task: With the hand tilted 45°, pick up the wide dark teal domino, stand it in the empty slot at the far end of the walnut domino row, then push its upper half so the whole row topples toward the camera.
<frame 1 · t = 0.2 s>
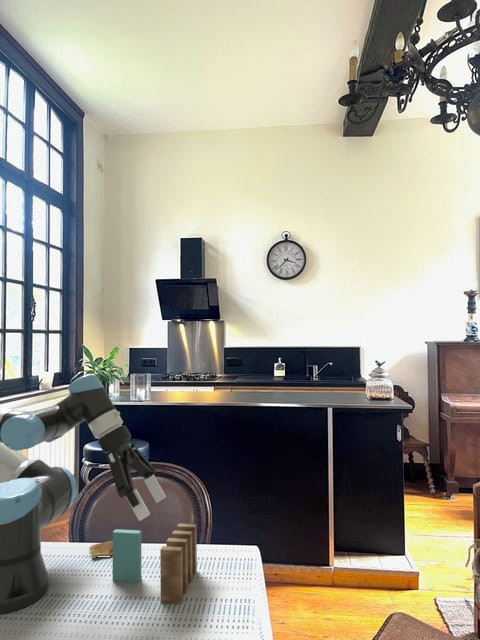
hand: (153, 508, 107), 15 cm above the table, tool tilted 30°, fingers open, 13 cm apart
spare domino: (127, 579, 103), on the table
domino 5: (171, 601, 94), on the table
domino 4: (177, 590, 98), on the table
shard: (105, 551, 119), on the table
domino 2: (187, 572, 106), on the table
domino 3: (182, 581, 102), on the table
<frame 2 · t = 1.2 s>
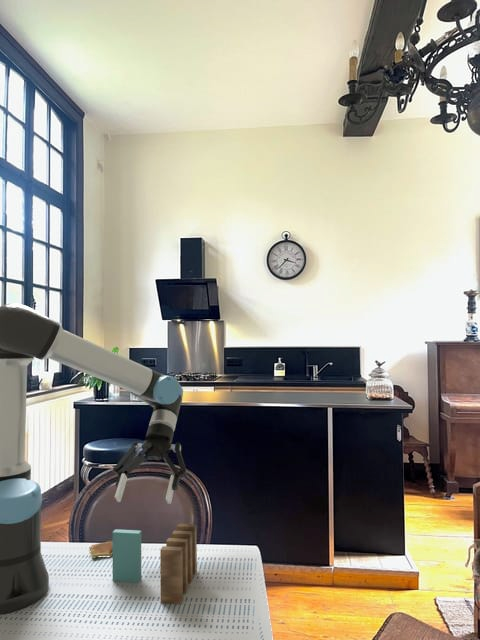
hand: (142, 500, 113), 15 cm above the table, tool tilted 45°, fingers open, 13 cm apart
nothing on the table moved.
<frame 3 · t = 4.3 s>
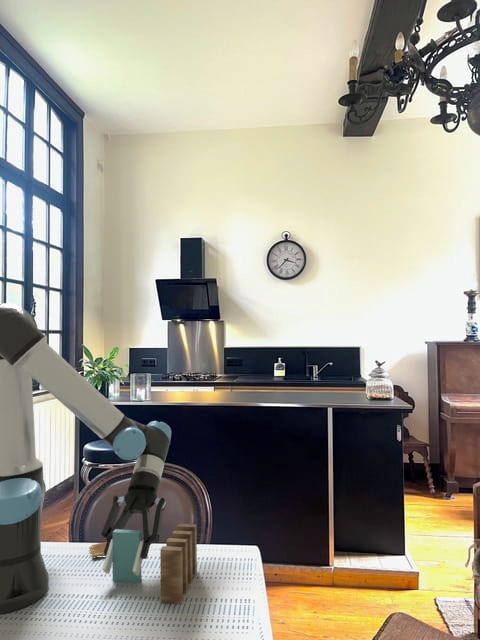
hand: (120, 572, 100), 3 cm above the table, tool tilted 45°, fingers closed on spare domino, 6 cm apart
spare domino: (127, 579, 103), on the table, touching gripper
everything else where it was.
when the fingers open (4 cm above the table, at t = 11.3 s): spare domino drops 1 cm, on the table.
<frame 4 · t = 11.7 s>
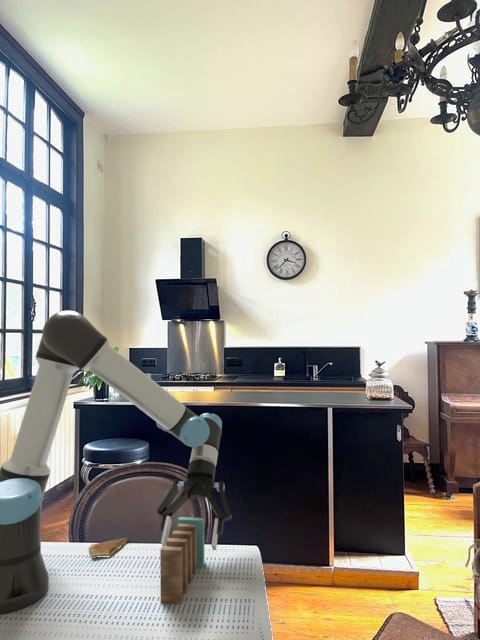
hand: (188, 546, 108), 5 cm above the table, tool tilted 45°, fingers open, 12 cm apart
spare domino: (191, 563, 110), on the table
everything else where it was.
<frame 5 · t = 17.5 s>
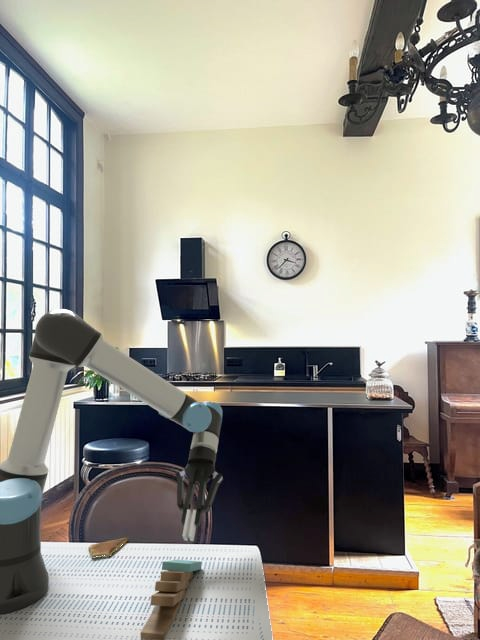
hand: (187, 538, 107), 7 cm above the table, tool tilted 45°, fingers closed
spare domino: (188, 564, 108), point 1 cm above the table, tilted 67°, touching domino 2
domino 5: (170, 603, 93), on the table, tilted 90°
domino 4: (174, 592, 96), point 1 cm above the table, tilted 69°, touching domino 3
domino 2: (183, 573, 104), point 1 cm above the table, tilted 66°, touching domino 3, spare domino
domino 3: (179, 582, 100), point 1 cm above the table, tilted 66°, touching domino 2, domino 4
everything else where it was.
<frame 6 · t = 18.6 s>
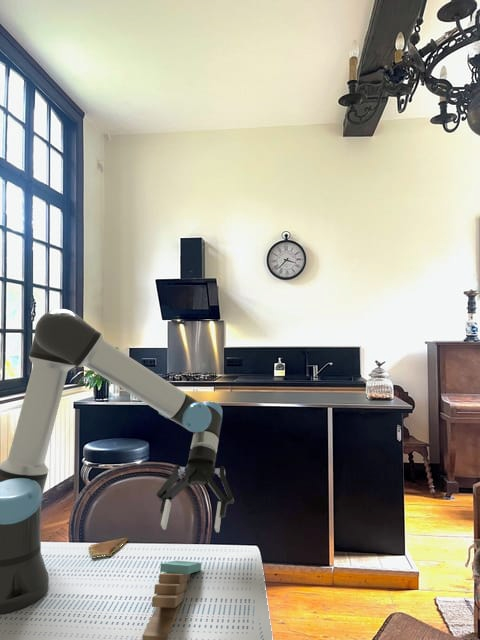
hand: (189, 528, 109), 9 cm above the table, tool tilted 45°, fingers open, 13 cm apart
domino 5: (169, 605, 92), on the table, tilted 90°, touching domino 4
domino 4: (173, 595, 95), point 1 cm above the table, tilted 67°, touching domino 3, domino 5
domino 2: (181, 575, 103), point 1 cm above the table, tilted 66°, touching domino 3, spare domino
domino 3: (177, 585, 99), point 1 cm above the table, tilted 66°, touching domino 2, domino 4
everything else where it was.
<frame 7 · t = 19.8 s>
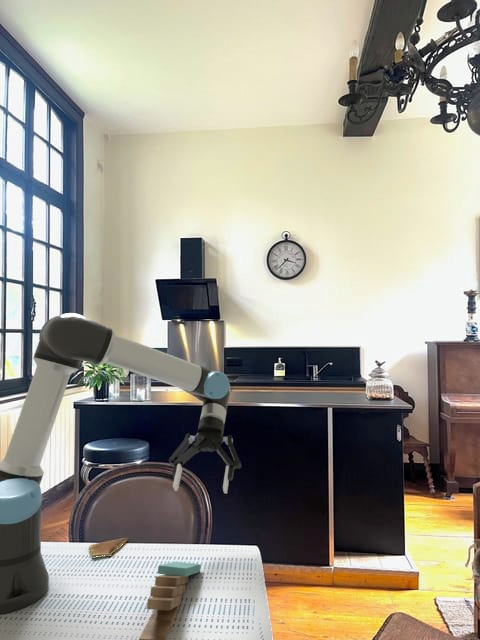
hand: (199, 490, 117), 16 cm above the table, tool tilted 45°, fingers open, 13 cm apart
domino 5: (168, 607, 91), on the table, tilted 90°, touching domino 4
domino 4: (171, 598, 93), point 1 cm above the table, tilted 66°, touching domino 3, domino 5
domino 2: (179, 578, 102), point 1 cm above the table, tilted 66°, touching domino 3, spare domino
domino 3: (175, 588, 97), point 1 cm above the table, tilted 66°, touching domino 2, domino 4
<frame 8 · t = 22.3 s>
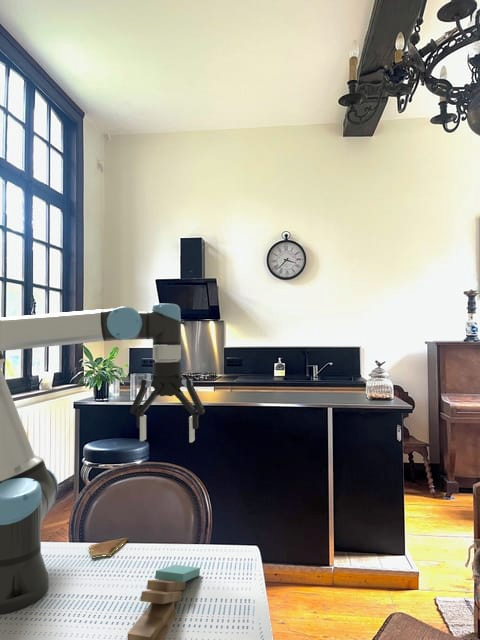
hand: (167, 440, 118), 29 cm above the table, tool pointing down, fingers open, 13 cm apart
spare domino: (187, 570, 106), point 1 cm above the table, tilted 70°, touching domino 2
domino 5: (165, 611, 90), on the table, tilted 90°
domino 4: (164, 604, 90), point 2 cm above the table, tilted 90°, touching domino 3
domino 2: (176, 584, 99), point 1 cm above the table, tilted 64°, touching domino 3, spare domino
domino 3: (171, 594, 94), point 1 cm above the table, tilted 64°, touching domino 2, domino 4
everything else where it was.
at the end: domino 5 tilted 90°; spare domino tilted 71°; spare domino inside the target area (1.5 cm from its centre), point 0.7 cm above the table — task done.
